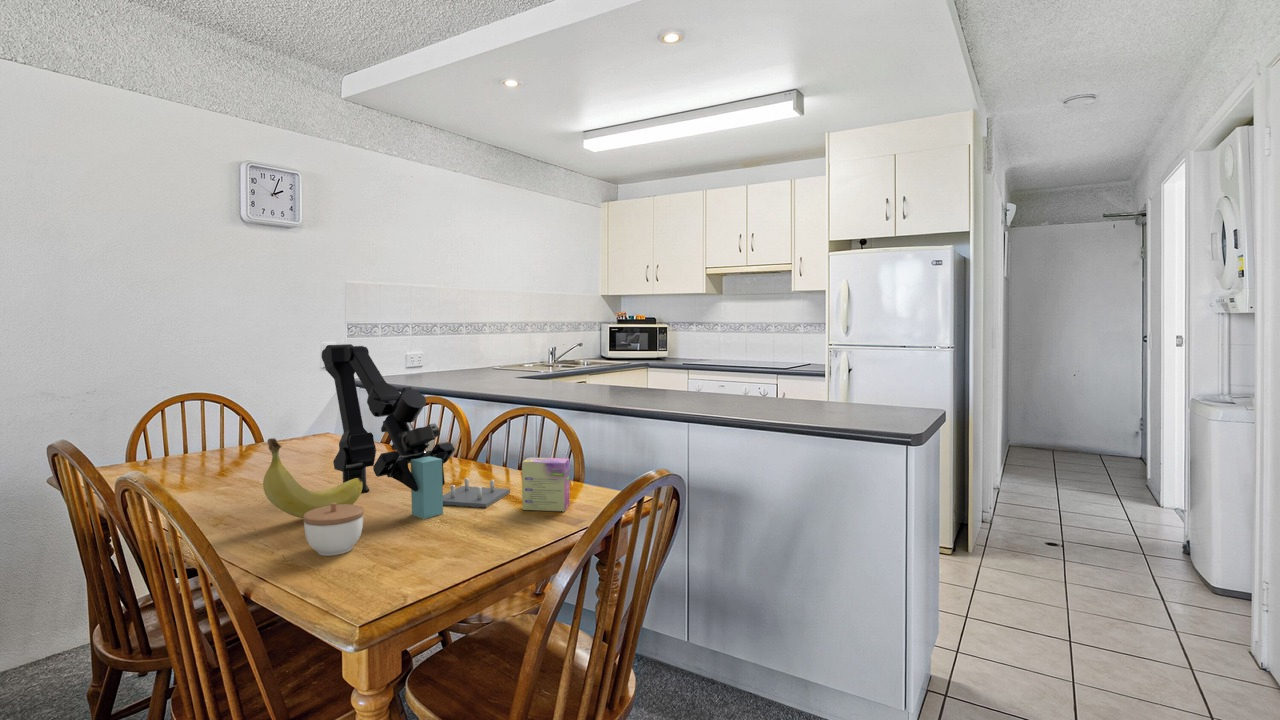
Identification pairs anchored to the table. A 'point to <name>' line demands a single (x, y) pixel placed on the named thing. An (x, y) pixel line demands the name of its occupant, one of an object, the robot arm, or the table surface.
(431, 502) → the teal block
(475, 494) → the base plate
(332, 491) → the banana
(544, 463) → the box
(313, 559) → the table surface
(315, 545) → the lidded jar
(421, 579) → the table surface
